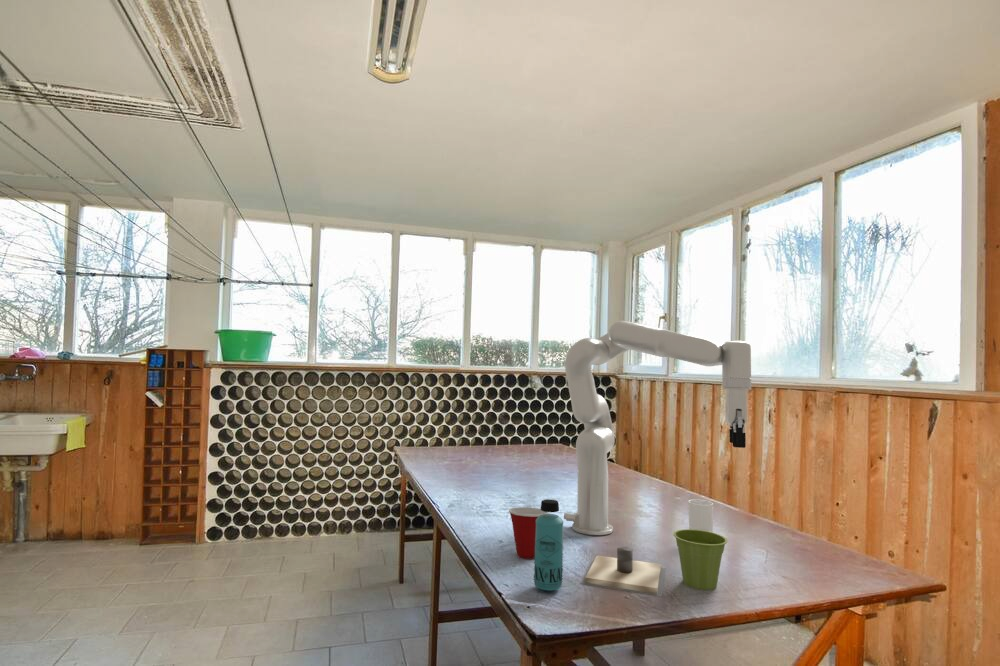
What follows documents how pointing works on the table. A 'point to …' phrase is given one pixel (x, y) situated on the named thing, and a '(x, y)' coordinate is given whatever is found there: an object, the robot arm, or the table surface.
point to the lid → (625, 572)
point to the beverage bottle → (548, 548)
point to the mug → (700, 515)
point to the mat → (660, 589)
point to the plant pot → (700, 557)
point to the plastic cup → (525, 530)
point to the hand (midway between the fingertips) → (737, 445)
